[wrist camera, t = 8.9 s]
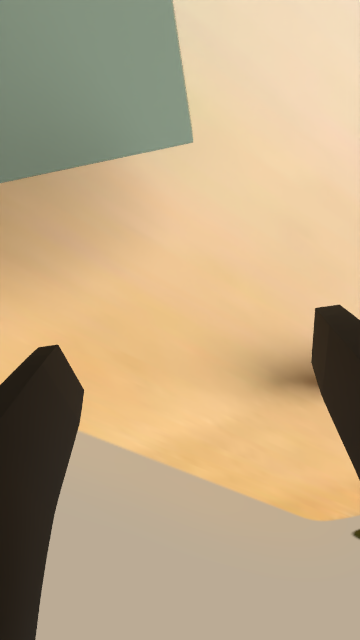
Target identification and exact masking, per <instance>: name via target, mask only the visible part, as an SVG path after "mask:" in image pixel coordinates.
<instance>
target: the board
mask: <svg viewBox="0 0 360 640" xmlns="http://www.w3.org/2000/svg"><path fill="white" fill-rule="evenodd" d="M192 142H193V135H192V127H191V120H190V113H189V107H188V100H187V94H186V87H185V80H184V74H183V67H182V60H181V54H180V47H179V40H178V34H177V27H176V21H175V14H174V7H173V1H172V0H0V183H3V182H8V181H13V180H18V179H22V178H27V177H32V176H36V175H41V174H46V173H51V172H55V171H60V170H65V169H70V168H74V167H79V166H84V165H88V164H93V163H98V162H103V161H107V160H112V159H117V158H122V157H126V156H131V155H136V154H140V153H145V152H150V151H155V150H159V149H164V148H169V147H174V146H178V145H183V144H188V143H192Z"/></svg>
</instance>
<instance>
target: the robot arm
mask: <svg viewBox="0 0 360 640" xmlns="http://www.w3.org/2000/svg"><path fill="white" fill-rule="evenodd" d="M311 363H312V366H313V369H314V373H315V376H316V379H317V382H318V386H319V389H320V392H321V395H322V397H323V400H324V402H325V404H326V406H327V409H328V411H329V413H330V415H331V418H332V420H333V422H334V424H335V427H336V429H337V431H338V433H339V435H340V437H341V440H342V442H343V444H344V446H345V448H346V451H347V453H348V455H349V457H350V459H351V462H352V464H353V466H354V468H355V470H356V473H357V475H358V477H359V480H360V320H359V319H358V318H356V317H355V316H354V315H352V314H351V313H350V312H349V311H347V310H346V309H345V308H343V307H342V306H341V305H334V306H327V307H320V308H315V319H314V333H313V347H312V361H311ZM83 395H84V389H83V387H82V386H81V384H80V382H79V380H78V379H77V377H76V375H75V373H74V372H73V370H72V368H71V366H70V365H69V363H68V361H67V359H66V358H65V356H64V354H63V352H62V351H61V349H60V347H59V345H52V346H45V347H39V348H37V349H36V350H35V351H34V352H33V353H32V354H31V355H30V356H29V357H28V358H27V359H26V360H25V361H24V362H23V363H22V364H21V365H20V366H19V367H18V368H17V369H16V370H15V371H14V372H13V373H12V374H11V375H10V376H9V377H8V378H7V379H6V380H5V381H4V382H3V383H2V384H1V385H0V640H35V636H36V629H37V621H38V613H39V605H40V597H41V590H42V584H43V577H44V570H45V564H46V558H47V552H48V546H49V541H50V535H51V529H52V524H53V519H54V514H55V510H56V505H57V501H58V498H59V494H60V490H61V487H62V483H63V480H64V477H65V473H66V469H67V466H68V463H69V459H70V455H71V452H72V448H73V445H74V441H75V438H76V434H77V430H78V427H79V423H80V417H81V410H82V403H83Z"/></svg>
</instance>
